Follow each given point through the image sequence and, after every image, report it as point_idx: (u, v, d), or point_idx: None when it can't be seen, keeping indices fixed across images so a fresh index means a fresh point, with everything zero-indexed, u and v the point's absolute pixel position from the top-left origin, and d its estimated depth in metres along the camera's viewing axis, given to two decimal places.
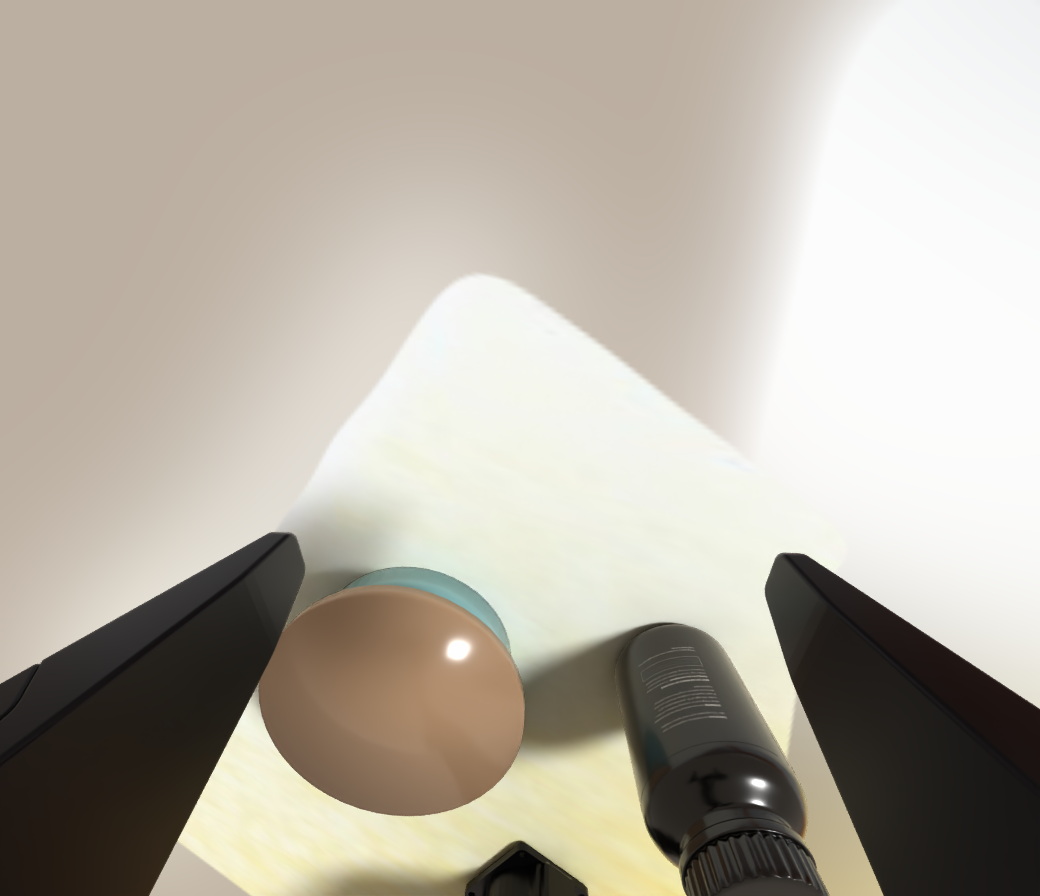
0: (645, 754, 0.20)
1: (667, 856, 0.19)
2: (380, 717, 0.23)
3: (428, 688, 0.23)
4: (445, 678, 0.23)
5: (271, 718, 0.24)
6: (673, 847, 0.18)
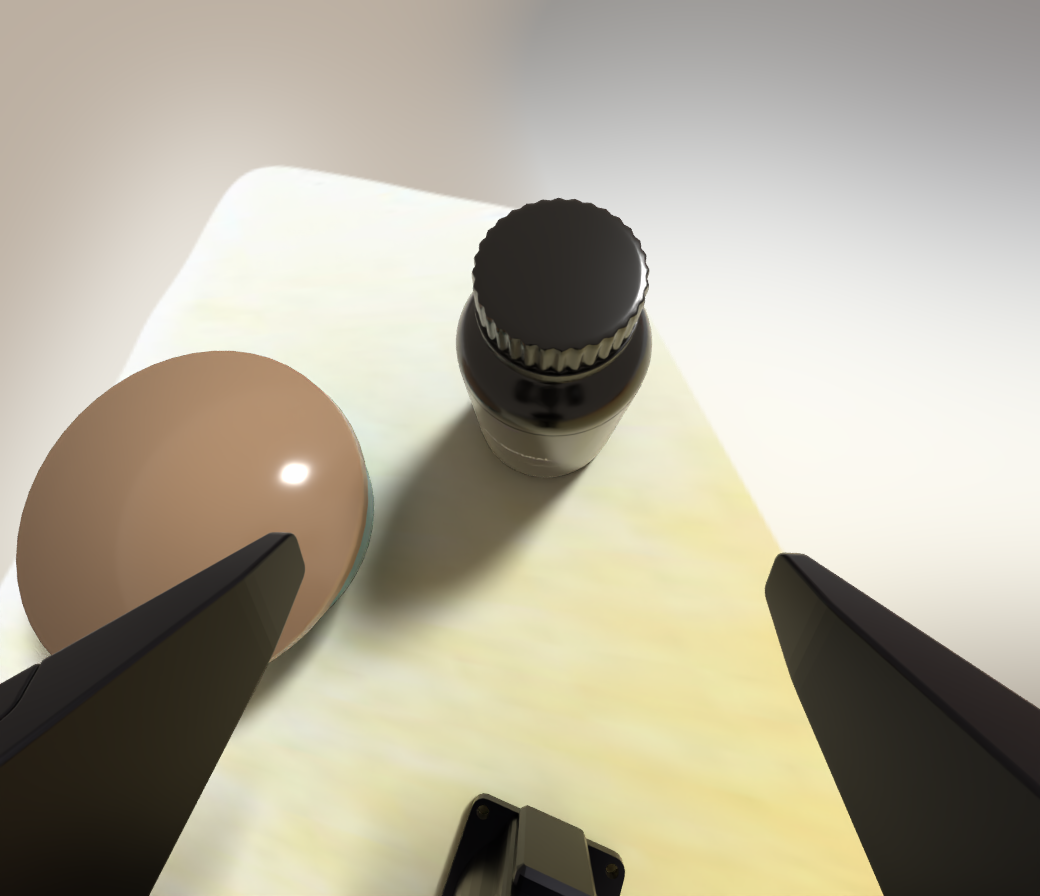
0: None
1: (499, 390, 0.14)
2: (176, 516, 0.18)
3: (231, 449, 0.19)
4: (249, 428, 0.19)
5: (30, 581, 0.18)
6: (490, 358, 0.14)
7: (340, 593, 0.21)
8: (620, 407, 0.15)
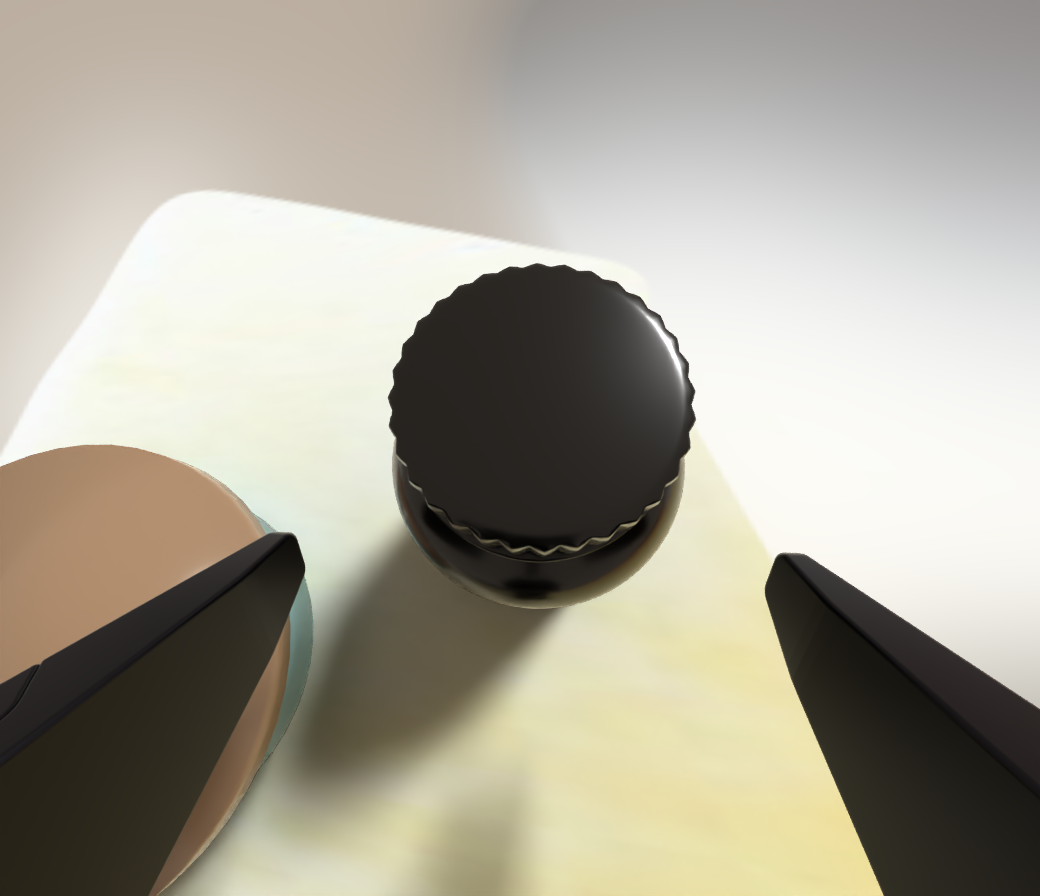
0: None
1: (452, 554, 0.09)
2: None
3: (99, 588, 0.14)
4: (125, 556, 0.14)
5: None
6: None
7: (264, 758, 0.16)
8: (640, 567, 0.10)
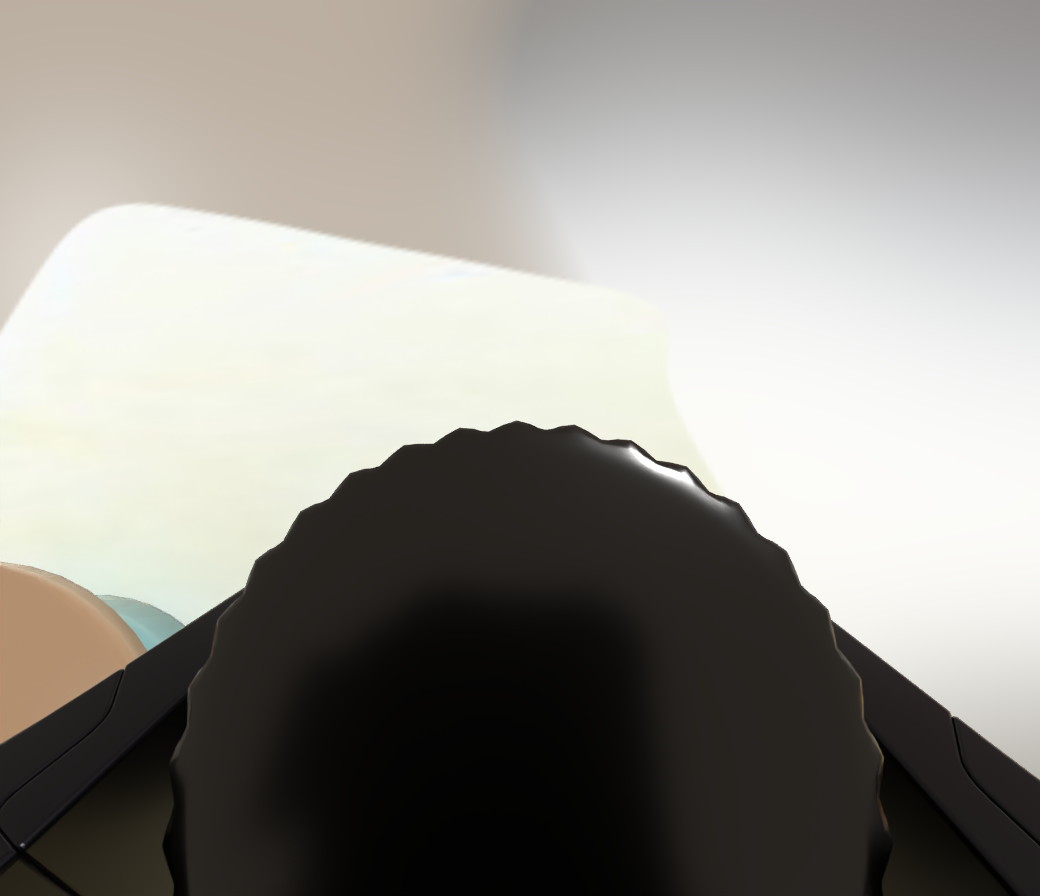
0: None
1: None
2: None
3: None
4: None
5: None
6: None
7: None
8: None
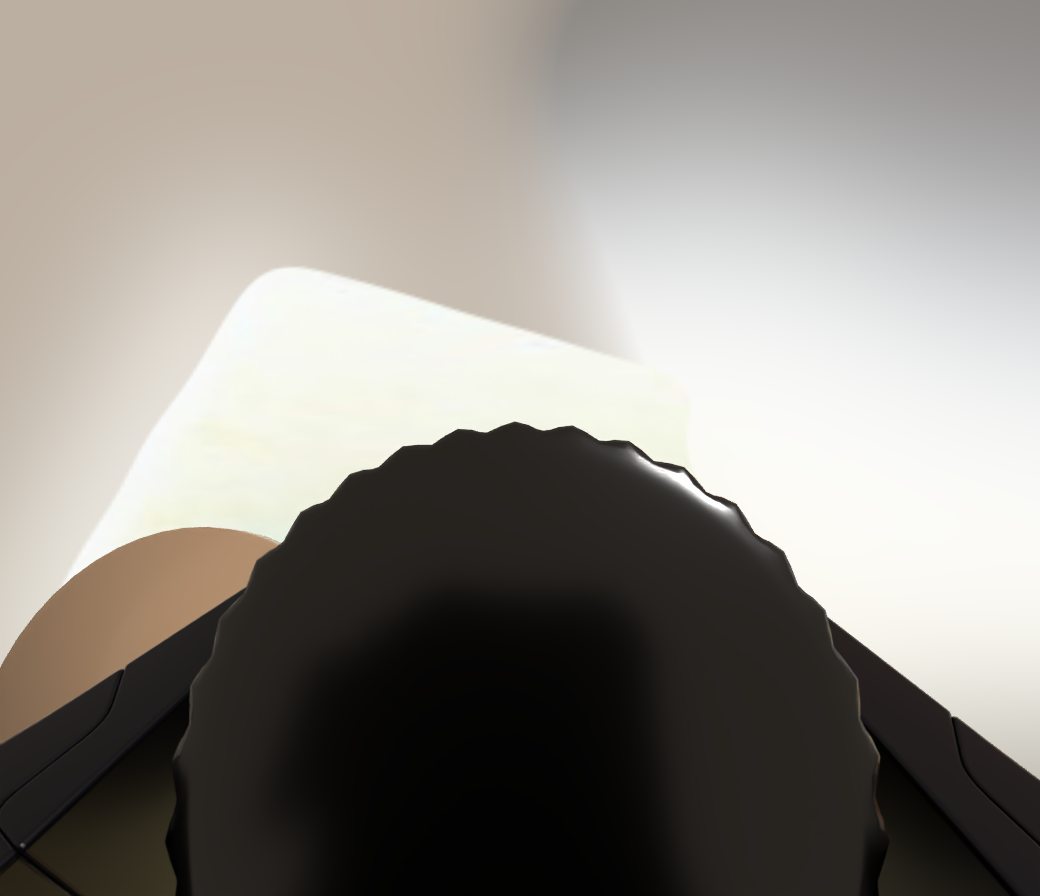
0: None
1: None
2: None
3: None
4: None
5: None
6: None
7: None
8: None
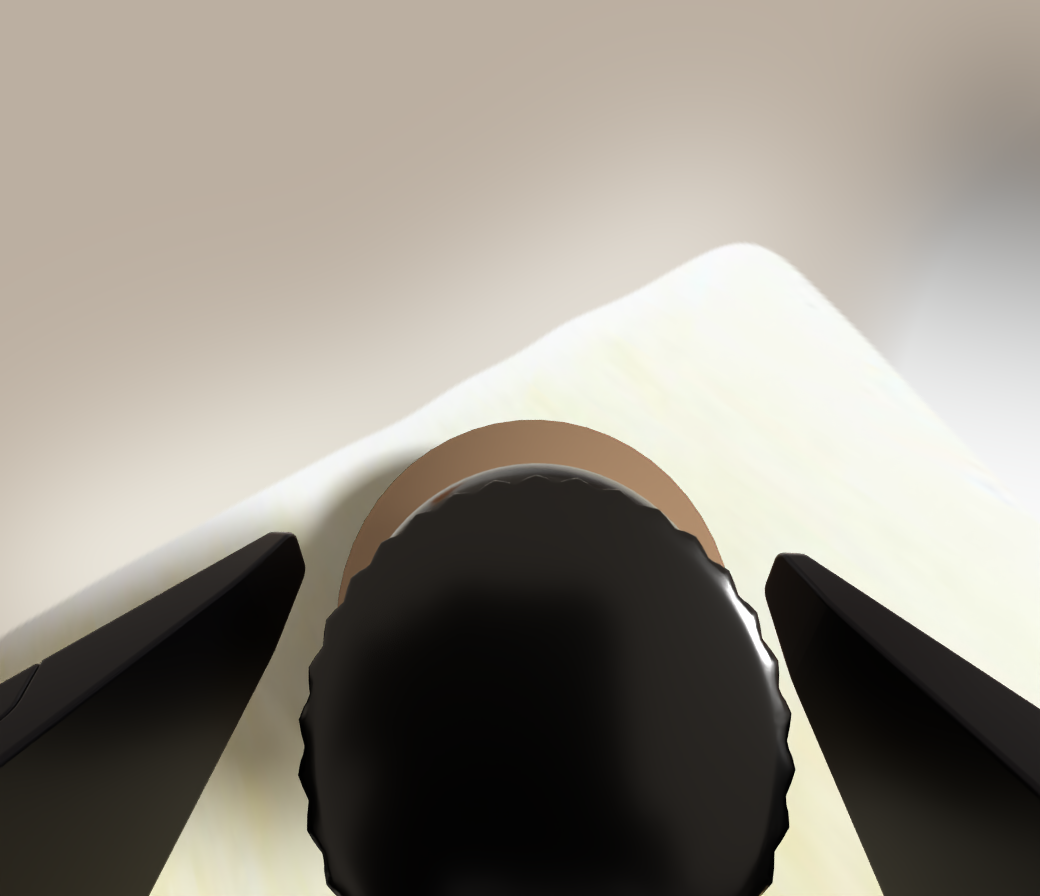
0: None
1: None
2: None
3: None
4: None
5: (363, 552, 0.17)
6: None
7: None
8: None
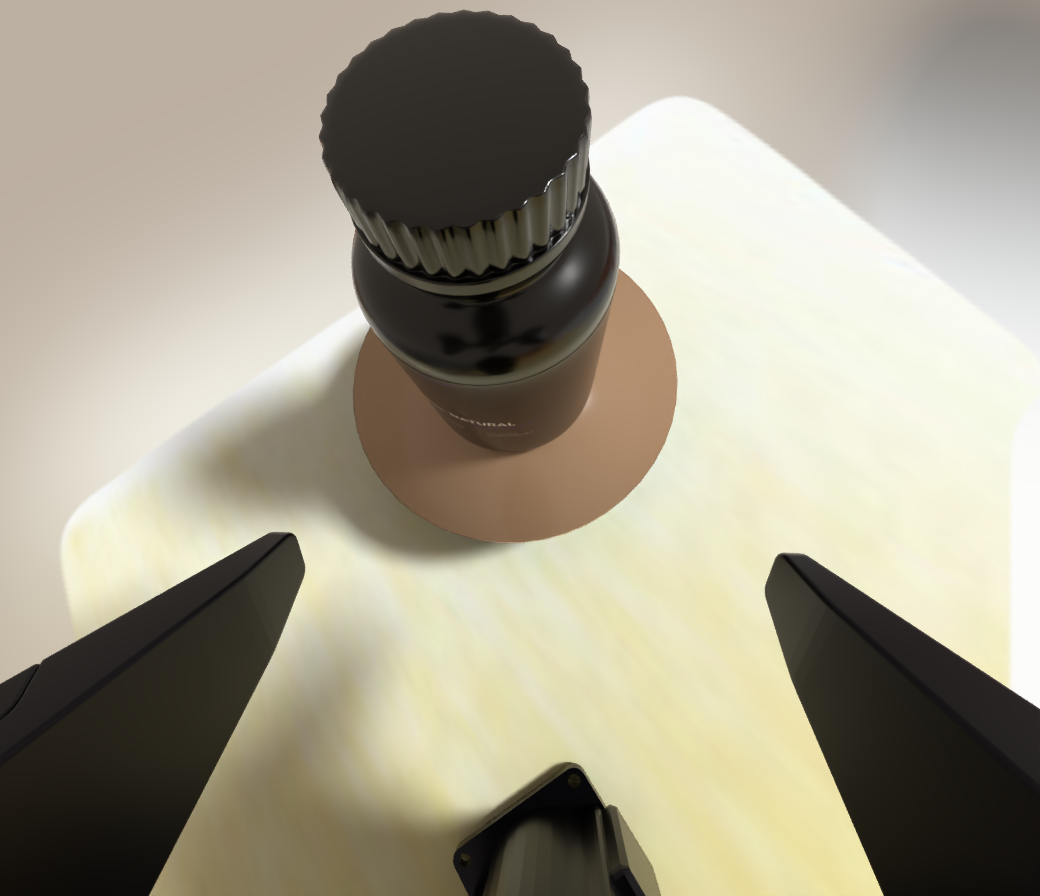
0: None
1: (412, 328, 0.10)
2: None
3: None
4: None
5: (368, 358, 0.20)
6: (391, 284, 0.10)
7: None
8: (587, 328, 0.10)
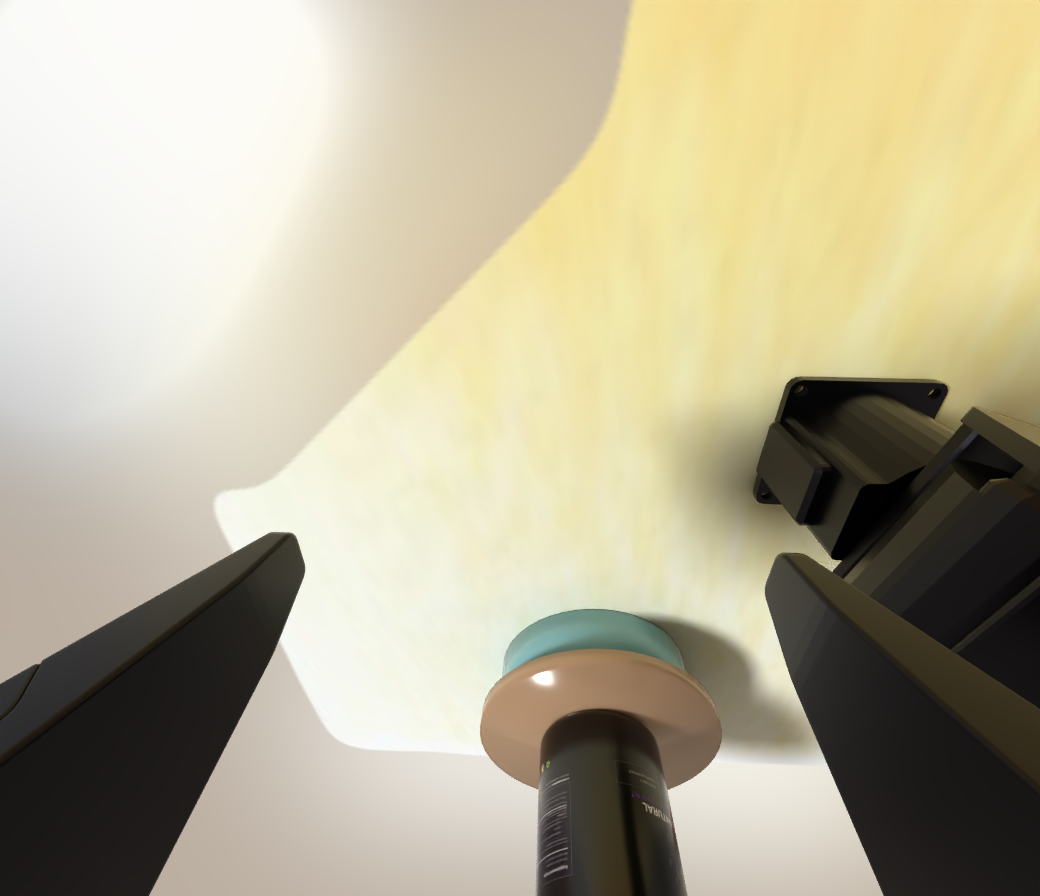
0: None
1: None
2: None
3: None
4: (533, 730, 0.26)
5: (666, 785, 0.28)
6: None
7: (627, 617, 0.27)
8: None
